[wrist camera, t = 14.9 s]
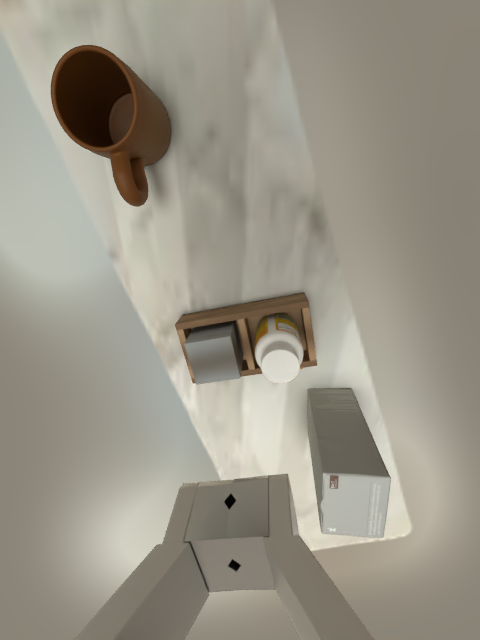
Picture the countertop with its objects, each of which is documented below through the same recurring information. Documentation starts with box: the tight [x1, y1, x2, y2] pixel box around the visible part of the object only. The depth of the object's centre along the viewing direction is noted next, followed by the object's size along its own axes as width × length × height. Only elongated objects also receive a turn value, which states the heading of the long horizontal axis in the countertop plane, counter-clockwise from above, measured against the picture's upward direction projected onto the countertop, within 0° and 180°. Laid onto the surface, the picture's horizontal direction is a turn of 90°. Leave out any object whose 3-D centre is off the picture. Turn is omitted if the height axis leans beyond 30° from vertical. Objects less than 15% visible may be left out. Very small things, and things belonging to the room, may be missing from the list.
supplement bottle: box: [255, 313, 303, 383], centre depth 35 cm, size 5×5×10 cm
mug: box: [51, 45, 171, 206], centre depth 29 cm, size 12×8×9 cm, turn 13°
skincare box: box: [308, 389, 391, 538], centre depth 36 cm, size 8×7×16 cm
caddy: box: [175, 293, 317, 384], centre depth 37 cm, size 9×16×7 cm, turn 102°
